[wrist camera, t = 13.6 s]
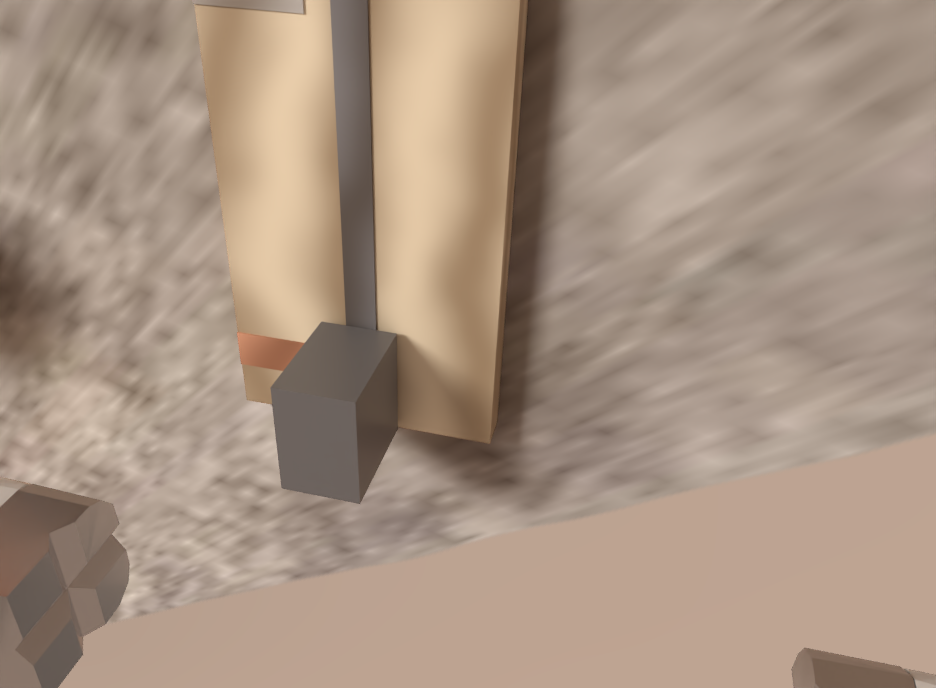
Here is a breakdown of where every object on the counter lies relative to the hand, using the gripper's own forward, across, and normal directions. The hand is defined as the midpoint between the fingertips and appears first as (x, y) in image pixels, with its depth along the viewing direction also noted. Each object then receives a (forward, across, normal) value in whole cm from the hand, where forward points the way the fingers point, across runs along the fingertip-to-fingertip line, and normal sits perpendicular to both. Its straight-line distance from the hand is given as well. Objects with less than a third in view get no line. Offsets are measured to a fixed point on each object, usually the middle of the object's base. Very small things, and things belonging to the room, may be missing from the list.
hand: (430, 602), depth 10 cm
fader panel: (+29, +11, +8) cm, 32 cm away
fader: (+27, +11, +17) cm, 33 cm away
